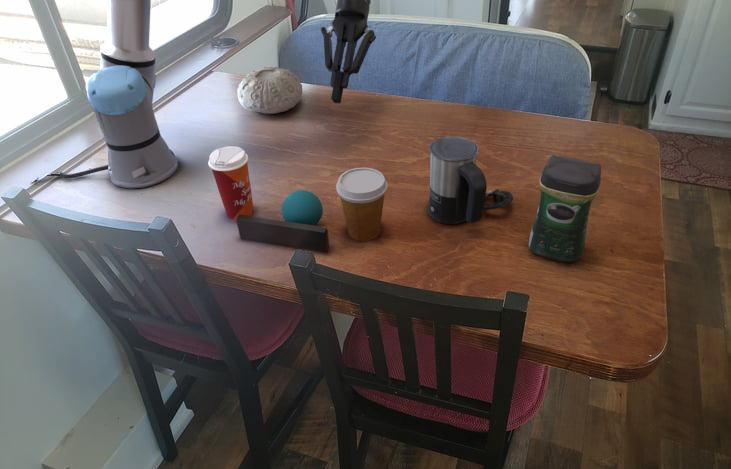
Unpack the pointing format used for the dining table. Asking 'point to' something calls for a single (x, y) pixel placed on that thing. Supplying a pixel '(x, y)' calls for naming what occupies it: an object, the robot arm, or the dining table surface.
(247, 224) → the block
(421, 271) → the dining table surface
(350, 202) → the disposable coffee cup
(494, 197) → the milk frother
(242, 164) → the paper cup
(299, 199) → the ball
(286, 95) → the decorative shell
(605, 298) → the dining table surface
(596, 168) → the coffee jar
